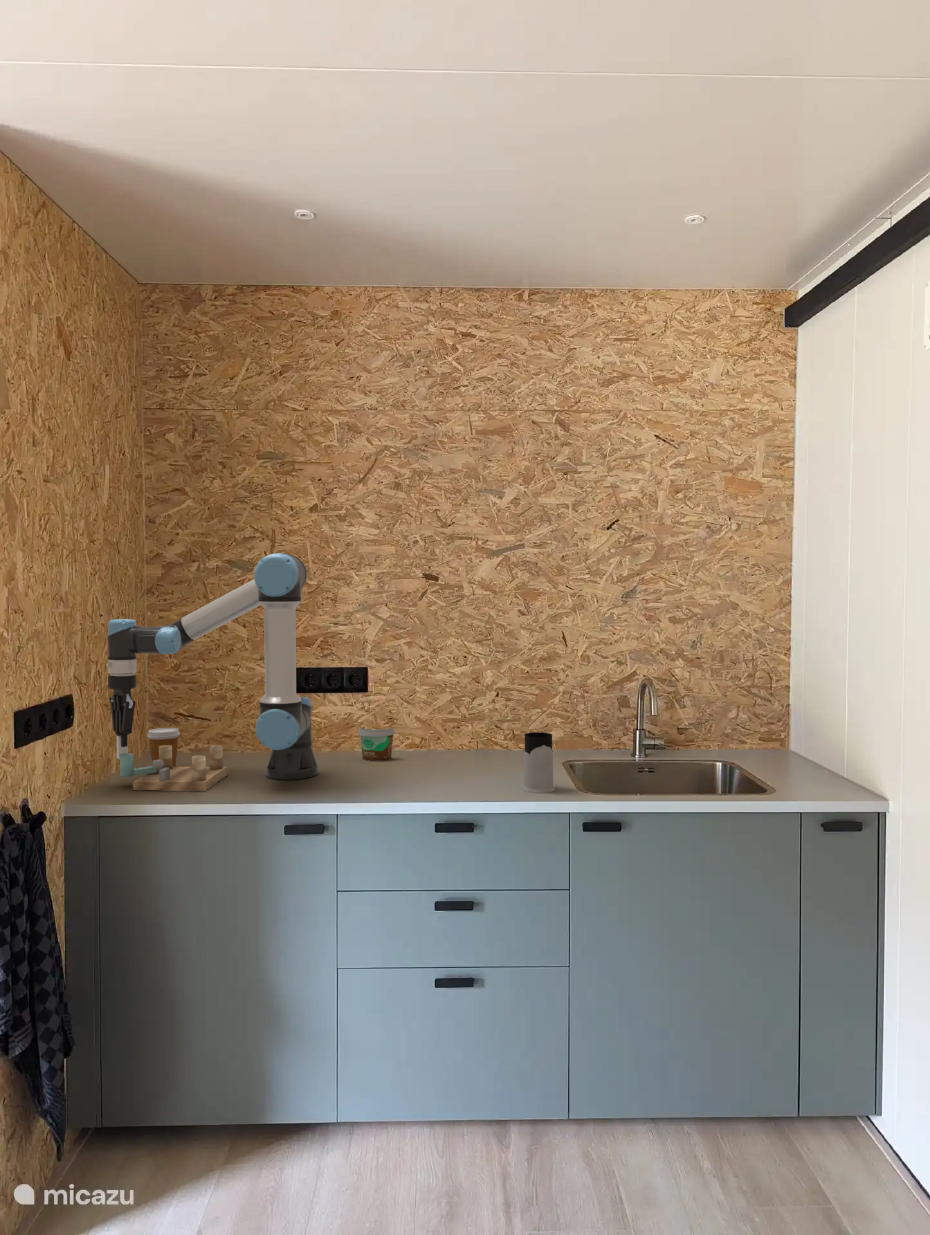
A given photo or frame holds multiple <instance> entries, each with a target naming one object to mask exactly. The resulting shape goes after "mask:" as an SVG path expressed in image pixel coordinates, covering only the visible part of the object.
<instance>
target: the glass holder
mask: <svg viewBox="0 0 930 1235" xmlns="http://www.w3.org/2000/svg"><path fill="white" fill-rule="evenodd" d="M554 786H555V785H554V750H553V734H552V733H549V732H543V731H541V732H540V731H539V732H528V733H527V732H526V733H525V734H524V751H523V786H522V790H523V791H524V792H526V793H532V794H546V793H548V794H549V793H551V792H554V791H555V790H556V789H555V787H554Z"/></svg>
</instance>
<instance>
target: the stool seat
mask: <svg viewBox="0 0 930 1235" xmlns="http://www.w3.org/2000/svg"><path fill="white" fill-rule="evenodd" d="M223 754H224V753H223V745H220V744H219V745H218V744H217V745H210V746H209V766H207V765H206V763H207V759H206V755H205V754H204V755H203V754H202V755H201V754H199V755H193V756H192V757H191V764H192V765H191V766H175V767H172V746H171V745H163V746H159V760H163V768H170V779H168V780H166V781H165V782H159V772H154V773H148V774H144V775H142V776H141V777H139V778H137V779H135V780H134V781H133V783H132V787H133V788H132V789H133V790H162V791H161V792H206V791H208V790H209V789H211V788H212V787H213V786H214V785H216V784H218V783H219V782H221V781H222V780H223V779H225V778H226V777H228V775H229V772H228V769H229V767H228V766H224V759H223V758H224V757H223ZM225 776H226V777H225ZM222 778H223V779H222ZM221 779H222V780H221ZM218 781H219V782H218ZM210 787H211V788H210ZM133 790H132V791H133Z"/></svg>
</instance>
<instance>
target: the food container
mask: <svg viewBox="0 0 930 1235" xmlns="http://www.w3.org/2000/svg"><path fill="white" fill-rule="evenodd" d="M357 735H358V736H359V737H360V738H359V739H360V745H361V746H360V747H361V755H362V756H361V757H362V760H364V761H368V760H369V761H370V762H378V761H377V760H383V761H388V760H391V759H392V751H393V739H394V736H395V735H396V730H395V729H394V727H392V728H383V729H382V728H369V729H368V728H362V726H361V725H360V726H359V728H358V731H357ZM390 758H391V759H390Z"/></svg>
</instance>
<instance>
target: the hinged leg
mask: <svg viewBox="0 0 930 1235" xmlns="http://www.w3.org/2000/svg"><path fill="white" fill-rule="evenodd" d="M134 763H135V761H134V753H131V752H130V753H129V752H128V753H126V754H121V755H120V759H119V772H120V773H119V776H120V777H121V778H130V777H131V778H132V777H134V776H139V775H140V776H141V775H147V774H148V773H154V772H159V770H161V769H163V760H154V761H153V762H152V766H150V765H149V766H144V767H143V766H142V767H137V768H135V766H134Z"/></svg>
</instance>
